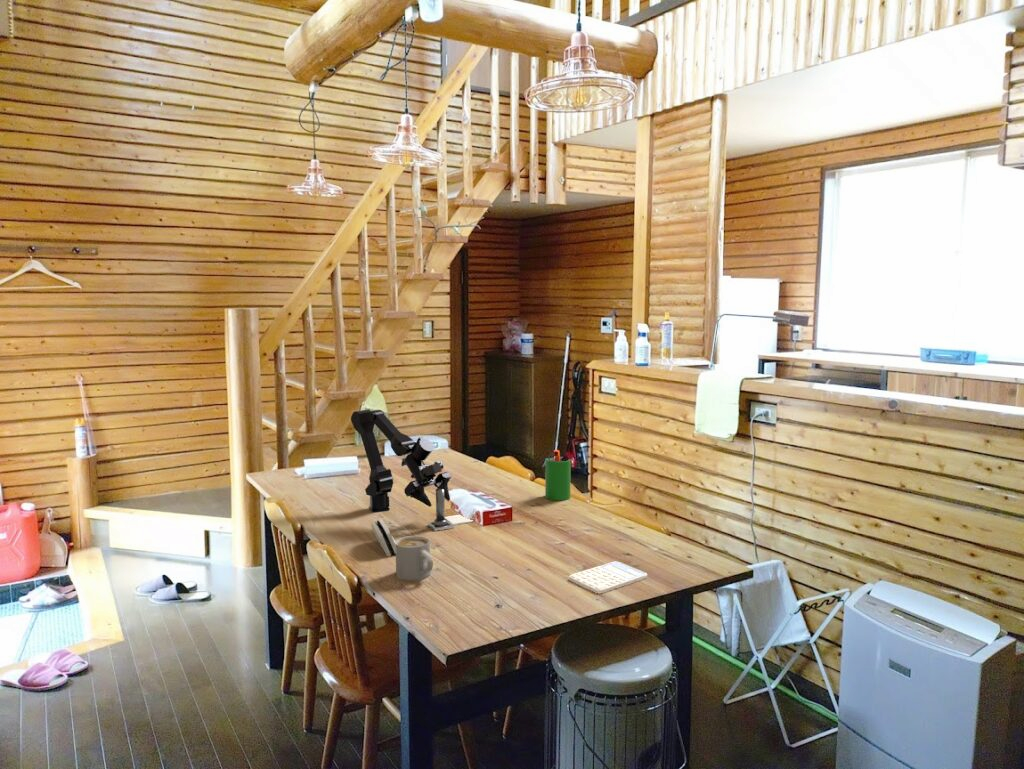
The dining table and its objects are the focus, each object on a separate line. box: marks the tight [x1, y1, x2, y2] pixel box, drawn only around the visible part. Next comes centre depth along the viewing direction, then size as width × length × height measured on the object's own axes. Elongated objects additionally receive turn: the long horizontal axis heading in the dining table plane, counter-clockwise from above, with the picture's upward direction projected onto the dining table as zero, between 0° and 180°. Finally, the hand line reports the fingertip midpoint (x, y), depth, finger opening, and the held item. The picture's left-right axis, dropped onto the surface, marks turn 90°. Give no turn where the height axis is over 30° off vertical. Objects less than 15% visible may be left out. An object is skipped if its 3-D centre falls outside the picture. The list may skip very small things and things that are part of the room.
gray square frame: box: [427, 521, 455, 532], centre depth 250 cm, size 7×7×1 cm
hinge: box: [370, 518, 397, 557], centre depth 230 cm, size 17×5×10 cm, turn 22°
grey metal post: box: [433, 488, 448, 527], centre depth 250 cm, size 4×4×14 cm
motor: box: [544, 449, 572, 501], centre depth 285 cm, size 10×9×20 cm
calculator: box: [568, 560, 648, 595], centre depth 204 cm, size 13×20×2 cm, turn 127°
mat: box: [445, 514, 473, 526], centre depth 258 cm, size 9×9×1 cm
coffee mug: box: [395, 535, 434, 582], centre depth 206 cm, size 13×10×10 cm
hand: (440, 503), depth 249 cm, fingers open, 9 cm apart
